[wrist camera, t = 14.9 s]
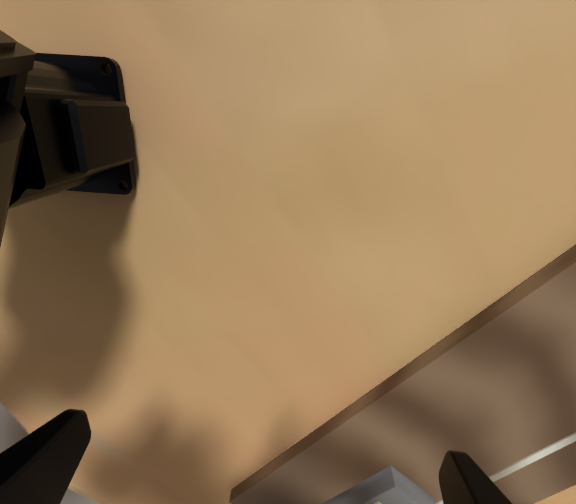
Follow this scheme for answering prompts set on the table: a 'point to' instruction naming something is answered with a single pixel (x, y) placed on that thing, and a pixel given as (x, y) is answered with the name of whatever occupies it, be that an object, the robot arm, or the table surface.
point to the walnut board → (457, 408)
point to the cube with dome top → (384, 491)
